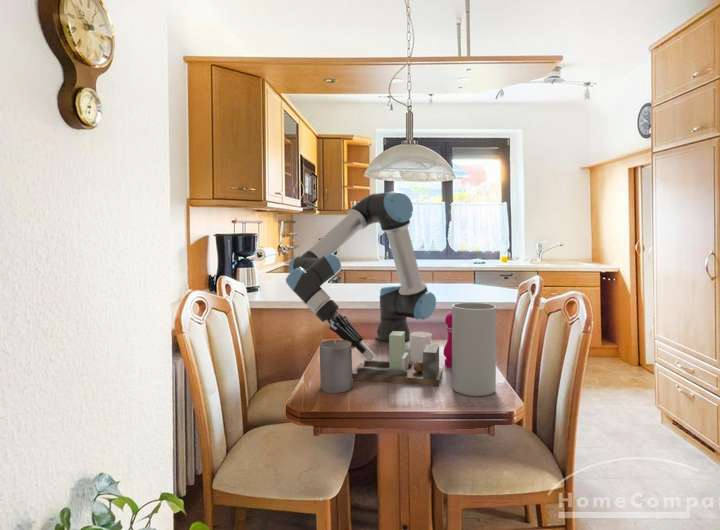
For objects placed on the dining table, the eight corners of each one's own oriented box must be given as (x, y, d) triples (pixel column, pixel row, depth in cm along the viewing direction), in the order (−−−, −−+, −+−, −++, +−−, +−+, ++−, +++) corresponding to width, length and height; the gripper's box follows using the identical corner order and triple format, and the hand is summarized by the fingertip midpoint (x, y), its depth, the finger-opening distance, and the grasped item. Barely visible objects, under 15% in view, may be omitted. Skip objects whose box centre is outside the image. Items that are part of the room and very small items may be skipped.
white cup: (435, 360, 167) (435, 333, 166) (425, 365, 160) (425, 337, 159) (415, 357, 171) (415, 330, 170) (405, 362, 165) (405, 334, 164)
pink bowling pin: (464, 368, 156) (464, 310, 155) (443, 367, 157) (443, 310, 156) (464, 362, 163) (464, 307, 162) (443, 361, 165) (443, 306, 163)
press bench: (350, 379, 146) (349, 348, 145) (360, 368, 158) (359, 340, 157) (439, 386, 139) (439, 353, 138) (442, 374, 150) (442, 344, 150)
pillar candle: (328, 381, 145) (327, 334, 144) (357, 384, 141) (356, 336, 140) (314, 391, 136) (313, 342, 135) (345, 395, 132) (343, 344, 131)
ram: (389, 372, 145) (388, 335, 144) (393, 366, 152) (393, 330, 151) (404, 373, 144) (404, 336, 143) (408, 367, 151) (408, 331, 150)
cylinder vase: (468, 380, 144) (468, 301, 142) (503, 389, 135) (504, 305, 133) (443, 389, 136) (443, 306, 134) (479, 400, 127) (480, 311, 125)
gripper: (322, 310, 160) (369, 360, 157) (308, 317, 147) (359, 371, 144) (336, 295, 158) (384, 346, 155) (324, 301, 146) (375, 356, 143)
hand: (372, 358), depth 150 cm, fingers closed
